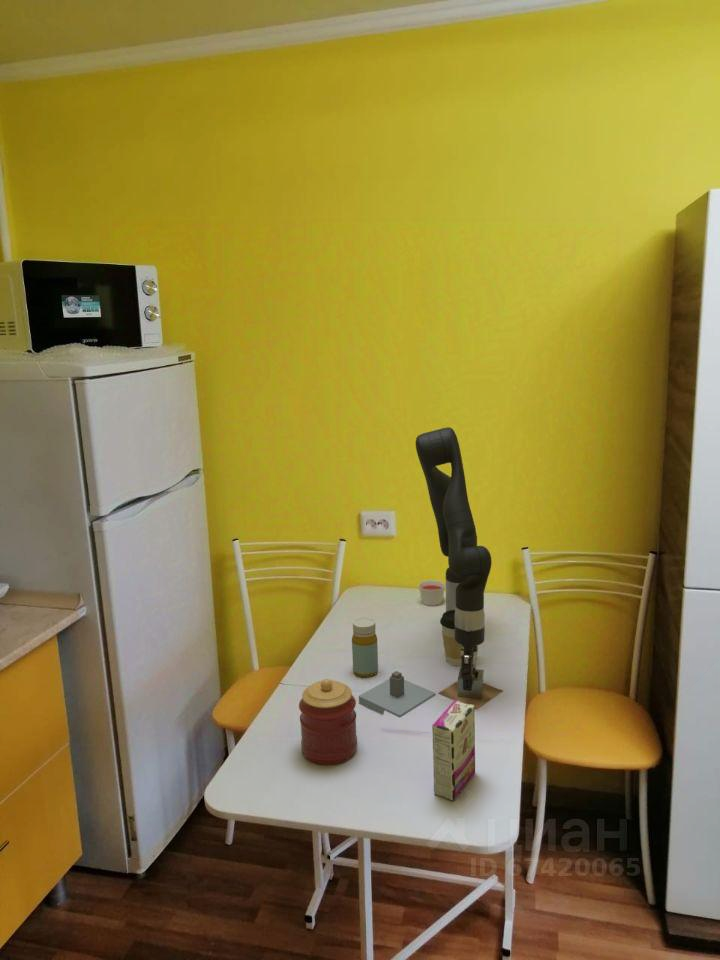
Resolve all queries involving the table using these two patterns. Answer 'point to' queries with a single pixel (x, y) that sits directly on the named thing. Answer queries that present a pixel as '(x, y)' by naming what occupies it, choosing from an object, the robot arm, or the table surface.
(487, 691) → the stand
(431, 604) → the candle
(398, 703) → the square plate
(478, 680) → the recessed metal cube
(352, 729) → the canister
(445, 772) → the candy bar box
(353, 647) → the bottle
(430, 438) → the robot arm
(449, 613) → the coffee cup
